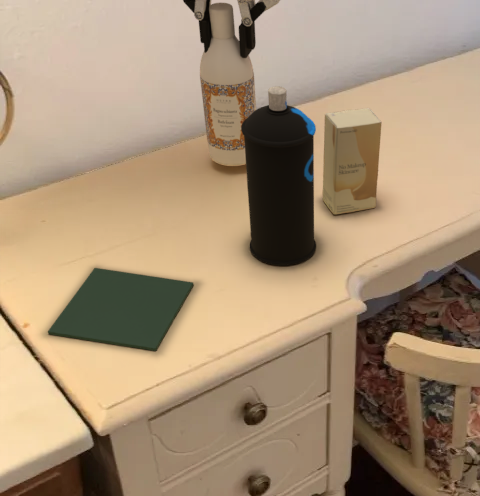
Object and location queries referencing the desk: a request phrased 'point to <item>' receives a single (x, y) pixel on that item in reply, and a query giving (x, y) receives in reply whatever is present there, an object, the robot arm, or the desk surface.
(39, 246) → the desk surface
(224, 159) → the bath foam
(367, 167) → the cosmetic box
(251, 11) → the robot arm
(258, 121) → the aerosol can
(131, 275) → the mat
